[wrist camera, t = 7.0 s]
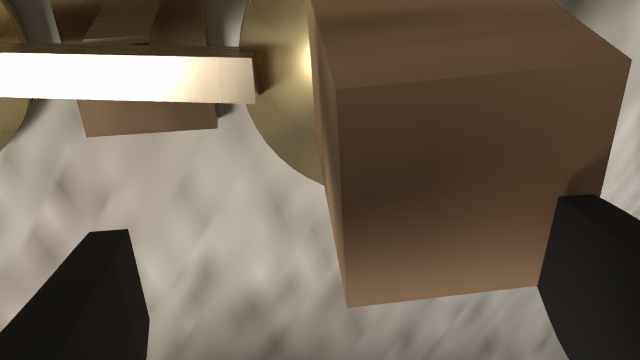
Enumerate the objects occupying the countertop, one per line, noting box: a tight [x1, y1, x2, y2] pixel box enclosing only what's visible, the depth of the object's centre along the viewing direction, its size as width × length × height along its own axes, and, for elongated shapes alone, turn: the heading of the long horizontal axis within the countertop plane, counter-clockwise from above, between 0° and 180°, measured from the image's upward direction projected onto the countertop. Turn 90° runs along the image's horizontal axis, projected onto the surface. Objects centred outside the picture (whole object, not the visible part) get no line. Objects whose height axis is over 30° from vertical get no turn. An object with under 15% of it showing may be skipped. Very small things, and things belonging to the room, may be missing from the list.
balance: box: [0, 0, 554, 185], centre depth 16 cm, size 8×22×4 cm, turn 91°
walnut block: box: [306, 0, 632, 308], centre depth 13 cm, size 4×4×6 cm
